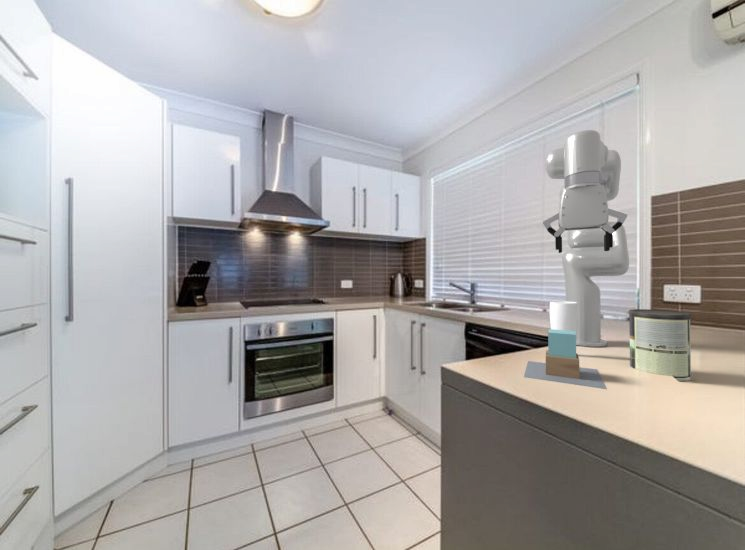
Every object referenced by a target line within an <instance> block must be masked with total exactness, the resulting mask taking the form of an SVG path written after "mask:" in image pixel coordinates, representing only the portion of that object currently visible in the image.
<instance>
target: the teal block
mask: <svg viewBox="0 0 745 550" xmlns="http://www.w3.org/2000/svg"><path fill="white" fill-rule="evenodd" d="M547 336H548V337H547V340H548V342H547V343H548V345H547V348H548V356H555V357H564V358H573V359H576V353H577V345H576V333H575V331H568V330H554V329H551V328H550V329H549V328H548V334H547Z"/></svg>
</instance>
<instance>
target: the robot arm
mask: <svg viewBox="0 0 745 550" xmlns="http://www.w3.org/2000/svg"><path fill="white" fill-rule="evenodd" d="M563 146H564V147H559V148H556V149H553V150H550V151H549V152H548V154H547V155H546V158H545V166H544V167H545V170H546V174H547V176H548V177H549V178H550V179H552V180H564V185H563V186H562V187H561V188H560V190H559V203H558V213H557V214H555V215H553V216H551V217H548V218H547V219H545V220H543V222H542V225H543V226H544V228H545V229H546V231H547V232H548V233H549V234H551V236H553V237H554V239H555V240H554V241H555V250H556V251H557V250H558V254H561V253H563V237H562V234H563V233H564V232H565V231H567V243H568V246H569V248H570V249H567V250H566V251H565V252H564V253H563V255H562V259H561V261H562V269H563V274H564V281H565V282H564V284H565V285H564V286H565V287H564V288H565V301H566V302H577V303H578V328H577V339H576V346H580V347H594V348H595V347H596V348H598V347H599V348H600V347H606V346H607V345H608V341H607V340H605V339H602V337H601V336H602V335H601V334H602V333H601V331H602V330H601V327H602V323H601V322H602V320H601V290H600V288H599V286H598V285H597V284H596V283H595V282H594V280H592V277H620V276H623V275H625V274H626V273H627V272H628V270H629V267H630V258H629V257H630V256H629V247H628V242H627V241H628V240H627V233H626V230H625V226H624V225H623V224H624V222H625V221H626V220H627V217H628V214H627V213H624V212H620V211H618V210H614V209H611V208H609V207H608V206H609V205H608V201H612V200H614V199H616V198H617V196H618V194H619V190H620V180H621V179H620V178H621V170H622V160H621V156H620V154H619V152H618V151H617V150H615V149H609V148H608V146H607V145H605V143H604V142H603V141H602V139H601V135H600V133H599V132H598V131H596V130H593V129H588V130H587V129H586V130H580V131H577V132H574V133H573V134H570V135H569V136H567V138H566V139H565V140H564V145H563ZM609 216H610V217H614V218H616V219H617V220H616V221H609ZM555 221H558V229H556V230H555V228H553V227H552V226H551V225H552V224H553V223H554V222H555Z"/></svg>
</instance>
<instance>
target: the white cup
mask: <svg viewBox="0 0 745 550" xmlns="http://www.w3.org/2000/svg"><path fill="white" fill-rule="evenodd" d="M549 323H550V324H549V325H550V329H554V330H568V331H575V333H576V339H577V328H578V303H577V302H566V300H565V301H563V300H562V301H560V300H559V301H557V300H556V301H554V300H553V301H552V300H551V301H550V302H549Z"/></svg>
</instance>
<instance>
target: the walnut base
mask: <svg viewBox="0 0 745 550" xmlns="http://www.w3.org/2000/svg"><path fill="white" fill-rule="evenodd" d="M545 363H546V375H552V376H559V377H567V378H574V379H580V378H579V367H580V357H579V354H578V353H577V352H576V359H573V358H564V357H555V356H548V350H547V349H546V351H545Z"/></svg>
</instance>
